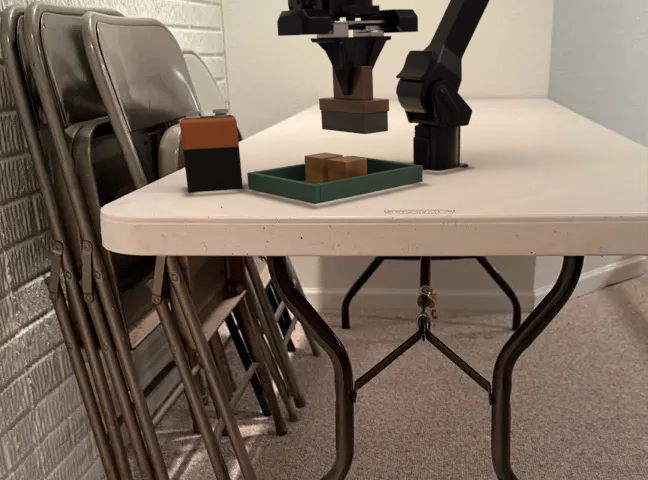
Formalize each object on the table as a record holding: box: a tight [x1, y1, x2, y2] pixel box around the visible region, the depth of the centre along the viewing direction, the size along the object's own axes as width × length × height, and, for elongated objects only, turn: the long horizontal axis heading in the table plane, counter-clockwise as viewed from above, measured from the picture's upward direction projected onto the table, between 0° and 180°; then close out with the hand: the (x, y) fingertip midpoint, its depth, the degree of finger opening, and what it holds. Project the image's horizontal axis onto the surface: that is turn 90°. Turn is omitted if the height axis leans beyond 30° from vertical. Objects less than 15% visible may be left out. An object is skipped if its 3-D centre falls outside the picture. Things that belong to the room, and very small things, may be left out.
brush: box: [318, 66, 390, 135], centre depth 94 cm, size 4×9×8 cm, turn 41°
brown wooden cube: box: [304, 152, 344, 184], centre depth 92 cm, size 4×4×4 cm
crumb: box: [327, 155, 367, 182], centre depth 89 cm, size 4×4×4 cm
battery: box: [179, 108, 244, 193], centre depth 90 cm, size 4×7×10 cm, turn 103°
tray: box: [246, 155, 424, 205], centre depth 91 cm, size 18×14×2 cm
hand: (353, 94), depth 93 cm, fingers closed on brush, 2 cm apart
